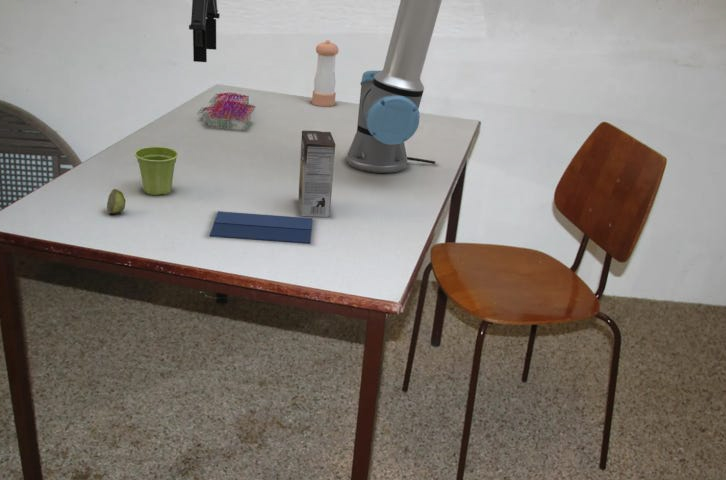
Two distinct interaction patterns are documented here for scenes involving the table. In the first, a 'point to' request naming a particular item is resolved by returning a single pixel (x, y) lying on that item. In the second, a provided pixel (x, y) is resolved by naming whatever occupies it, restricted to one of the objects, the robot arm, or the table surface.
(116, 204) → the lime
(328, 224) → the table surface
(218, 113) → the pink and grey package
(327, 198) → the coffee box
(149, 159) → the plant pot
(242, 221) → the napkin
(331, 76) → the pepper shaker
